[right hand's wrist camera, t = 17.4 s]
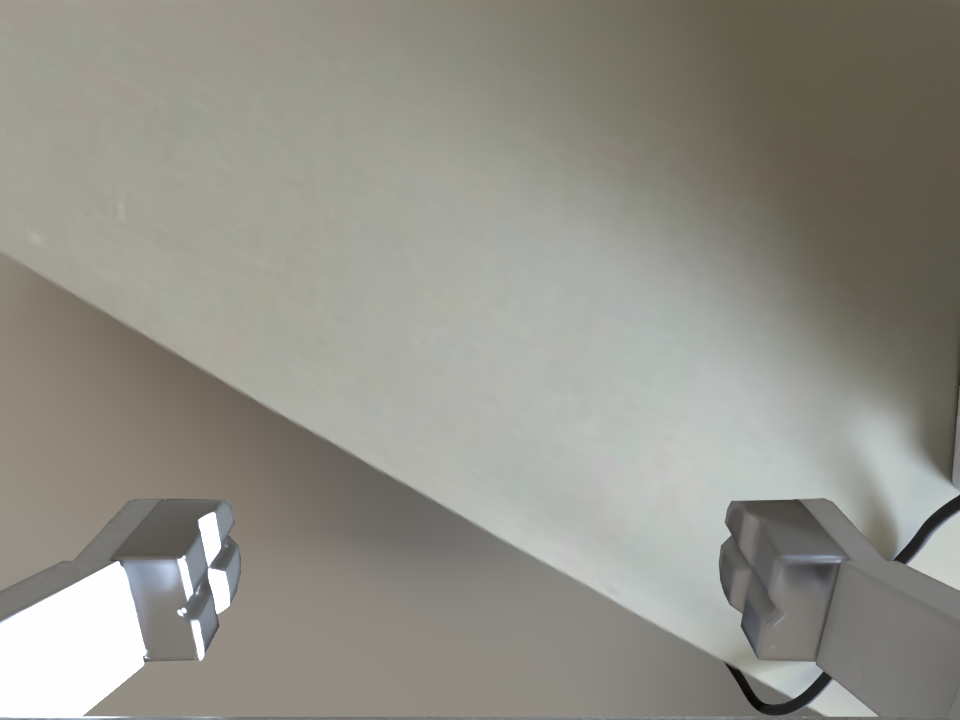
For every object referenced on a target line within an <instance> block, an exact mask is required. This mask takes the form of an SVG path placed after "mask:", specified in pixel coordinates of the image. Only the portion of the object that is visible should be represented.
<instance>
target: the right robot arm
mask: <svg viewBox="0 0 960 720" xmlns="http://www.w3.org/2000/svg"><path fill="white" fill-rule="evenodd" d="M952 482H953V486H954V488H955V489H957V490H958V491H959V492H960V388H959V400H958V412H957V424H956V436H955V448H954V461H953V474H952ZM959 512H960V495H959V496H957V497H956V498H954V499H952V500H951V501H949V502H948V503H946V504H945V505H944V506H942V507H941V508H940V509H938V510H937V511H936V512H935V513H934V514H932V515H931V516H930V517H929V518H928V519H927V520H926V521H925V523H924V524H923V525H922V526H921V528H920V529H919V531H918V532H917V533H916V535H915V536H914V538H913V539H912V540H911V541H910V542H909V544H908V545H907V546H906V547H905V548H904V549H903V550H902V551H901V552H900V554H899V555H898V556H897V557H896V558H895V559H894V560H893V561H887V560H886V559H885V558H884V557H883V556H882V555H881V554H880V553H879V552H878V550H877V549H876V548H875V547H874V546H873V545H872V544H871V543H870V542H869V541H868V540H867V539H866V537H865V536H864V535H863V534H862V533H861V532H860V531H859V530H858V529H857V528H856V527H855V526H854V524H853V523H852V522H851V521H850V520H849V519H848V518H847V517H846V516H845V515H844V514H843V513H842V511H841V510H840V509H839V508H838V507H837V506H836V505H835V504H834V503H833V502H832V501H830V500H827V499H825V498H816V499H793V500H755V501H731V503H730V505H729V507H728V509H727V513H726V519H725V524H726V526H727V527H728V529H729V531H730V532H731V534H732V535H731V536H730V537H729V538H728V539H727V540H726V541H725V542H724V543H723V544H722V545H721V550H720V558H719V570H720V581H721V584H722V588H723V591H724V594H725V596H726V598H727V600H728V602H729V604H730V605H731V606H732V607H734V608H735V609H736V610H738V611H739V612H741V613H742V614H743V617H742V622H741V628H742V630H743V632H744V633H745V635H746V637H747V639H748V641H749V643H750V645H751V647H752V649H753V651H754V653H755V655H756V656H757V658H758V660H775V661H811V662H816V665H817V666H818V667H820V668H821V669H822V670H823V671H824V672H823V673H822V674H821V675H820V676H819V677H818V679H817V680H816V681H815V682H814V683H813V684H812V685H811V686H810V687H809V688H808V689H807V690H806V691H805V692H803V693H802V694H801V695H799V696H798V697H797V698H795V699H793V700H791V701H789V702H786V703H783V704H776V705H771V704H766V703H763V702H762V701H761V700H760V699H759V698H758V697H757V696H756V695H755V693H754V692H753V690H752V689H751V687H750V685H749V684H748V682H747V680H746V679H745V677H744V675H743V674H742V672H741V671H740V669H738V668H736V667H735V666H733V665H730V664H728V663H727V662H725V661H724V663H725V664H726V666H727V668H728V669H729V671H730V672H731V674H732V675H733V677H734V678H735V680H736V681H737V683H738V685H739V686H740V688H741V690H742V692H743V694H744V695H745V697H746V698H747V700H748V702H749V703H750V704H751V705H752V706H753V707H754V708H755V709H756V710H757V711H759V712H761V713H763V714H766V715H769V716H785V715H789V714H792V713H795V712H797V711H799V710H801V709H803V708H804V707H806V706H807V705H809V704H810V703H811V702H812V701H814V700H815V699H816V698H817V697H818V696H819V695H820V694H821V693H822V692H823V691H824V690H825V689H826V688H827V686H828V685H829V684H830V683H831V682H832V681H833V679H834V680H835V681H837V682H838V683H839V684H840V685H841V686H843V687H844V688H845V689H846V690H848V691H849V692H850V693H851V694H852V695H854V696H855V697H856V698H857V699H858V700H860V701H861V702H862V703H863V704H865V705H866V706H867V707H868V708H869V709H871V710H872V711H873V712H874V713H876V714H877V715H878V716H879V717H81V716H82V715H83V714H85V713H86V712H87V711H88V710H89V709H91V708H92V707H93V706H94V705H96V704H97V703H98V702H99V701H101V700H102V699H103V698H104V697H105V696H107V695H108V694H109V693H110V692H112V691H113V690H114V689H115V688H116V687H118V686H119V685H120V684H121V683H122V682H124V681H125V680H126V679H127V678H129V677H130V676H131V675H132V674H133V673H135V672H136V671H137V670H138V669H140V668H141V667H142V666H143V665H144V662H148V661H184V660H202V658H203V657H204V655H205V653H206V651H207V649H208V647H209V645H210V643H211V641H212V639H213V637H214V635H215V633H216V632H217V630H218V628H219V622H218V617H217V614H218V613H219V612H221V611H222V610H224V609H225V608H226V607H228V606H229V605H230V604H231V602H232V600H233V598H234V596H235V594H236V592H237V588H238V583H239V579H240V574H241V556H240V549H239V545H238V544H237V543H236V542H235V541H234V540H233V539H232V538H231V537H230V536H229V535H228V534H229V532H230V531H231V529H232V527H233V525H234V524H235V520H234V515H233V510H232V505H231V504H230V503H229V502H228V501H227V500H200V499H134V500H130V501H128V502H127V503H126V504H125V505H124V506H123V507H122V508H121V509H120V510H119V512H118V513H117V514H116V515H115V516H114V517H113V518H112V519H111V520H110V521H109V522H108V523H107V525H106V526H105V527H104V528H103V529H102V530H101V531H100V532H99V533H98V534H97V535H96V536H95V538H94V539H93V540H92V541H91V542H90V543H89V544H88V545H87V546H86V547H85V548H84V549H83V551H82V552H81V553H80V554H79V555H78V556H77V557H76V558H75V559H74V560H73V561H61V562H59V563H57V564H55V565H53V566H51V567H49V568H47V569H45V570H43V571H41V572H39V573H36V574H34V575H32V576H30V577H28V578H26V579H24V580H22V581H20V582H18V583H16V584H14V585H12V586H9V587H7V588H5V589H3V590H1V591H0V720H960V591H959V590H957V589H955V588H953V587H950V586H948V585H946V584H944V583H942V582H940V581H938V580H936V579H934V578H932V577H930V576H928V575H926V574H923V573H921V572H919V571H917V570H915V569H913V568H911V567H909V566H907V565H908V564H909V562H910V561H911V560H912V559H913V558H914V557H915V556H916V555H917V554H918V553H919V552H920V550H921V549H922V548H923V547H924V546H925V544H926V543H927V542H928V540H929V539H930V538H931V536H932V535H933V534H934V533H935V532H936V530H937V529H938V528H939V527H941V526H942V525H943V524H944V523H945V522H946V521H948V520H949V519H950V518H952V517H953V516H954V515H956V514H957V513H959Z"/></svg>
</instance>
